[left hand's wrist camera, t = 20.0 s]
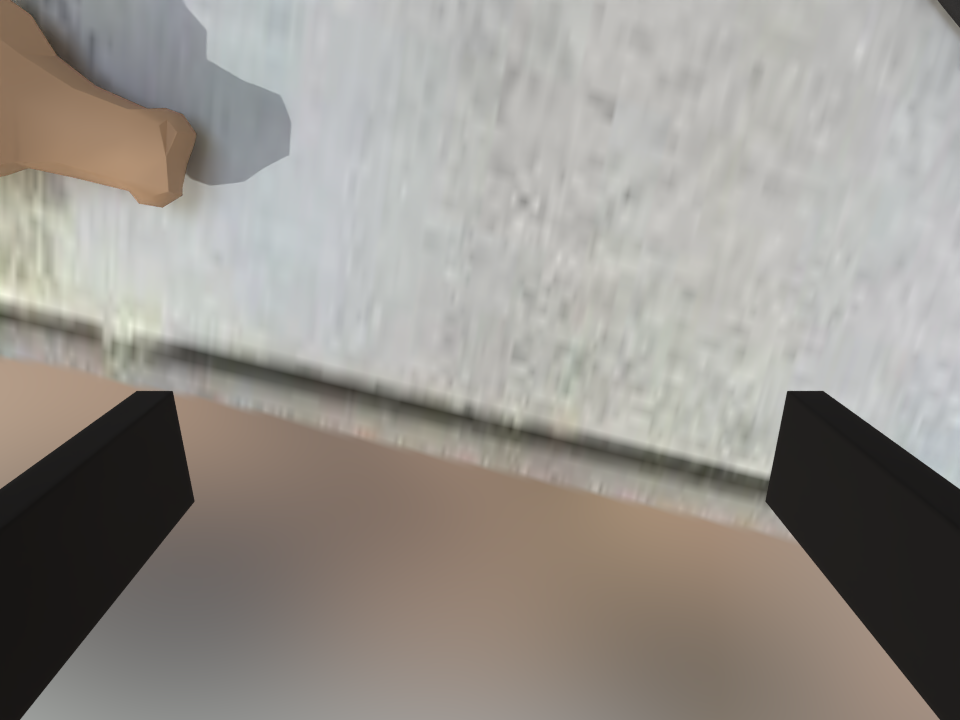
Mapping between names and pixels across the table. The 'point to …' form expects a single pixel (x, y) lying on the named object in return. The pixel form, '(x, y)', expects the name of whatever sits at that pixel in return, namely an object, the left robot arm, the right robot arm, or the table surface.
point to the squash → (82, 122)
